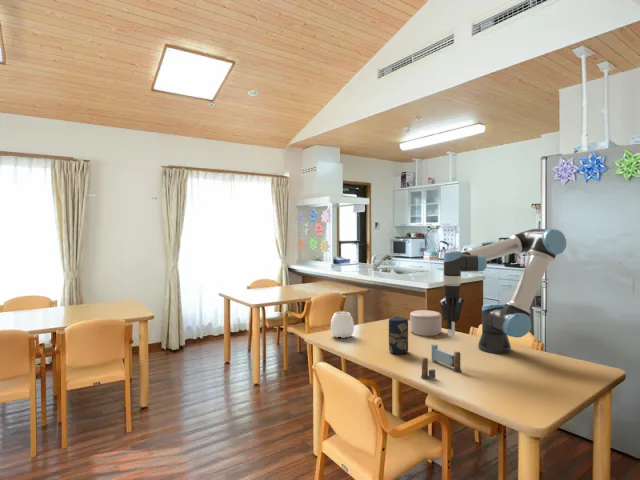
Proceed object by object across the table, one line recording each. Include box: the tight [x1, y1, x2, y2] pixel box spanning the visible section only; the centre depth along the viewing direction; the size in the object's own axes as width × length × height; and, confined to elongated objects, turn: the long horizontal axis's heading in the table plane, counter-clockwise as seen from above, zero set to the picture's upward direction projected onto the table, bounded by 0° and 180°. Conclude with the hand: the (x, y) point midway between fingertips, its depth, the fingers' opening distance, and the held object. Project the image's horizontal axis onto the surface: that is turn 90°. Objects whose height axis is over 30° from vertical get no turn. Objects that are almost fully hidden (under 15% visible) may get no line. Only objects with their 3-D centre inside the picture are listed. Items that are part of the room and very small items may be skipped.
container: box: [409, 309, 442, 337], centre depth 240 cm, size 18×18×12 cm
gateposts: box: [420, 351, 462, 380], centre depth 170 cm, size 21×4×8 cm, turn 115°
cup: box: [330, 311, 355, 339], centre depth 233 cm, size 13×13×14 cm
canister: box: [387, 315, 409, 355], centre depth 202 cm, size 10×10×18 cm
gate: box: [431, 343, 454, 368], centre depth 182 cm, size 13×2×8 cm, turn 25°
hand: (451, 335), depth 188 cm, fingers closed
